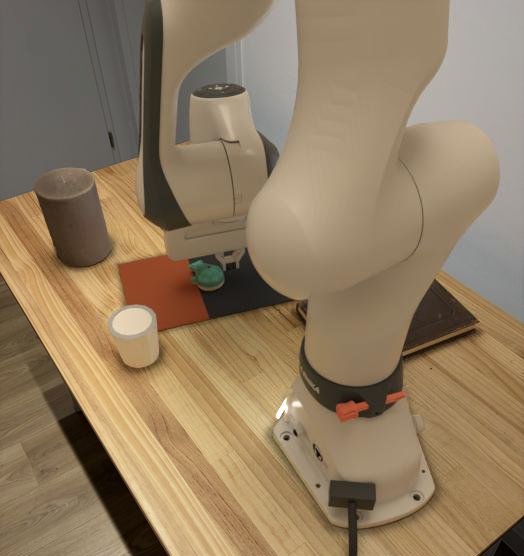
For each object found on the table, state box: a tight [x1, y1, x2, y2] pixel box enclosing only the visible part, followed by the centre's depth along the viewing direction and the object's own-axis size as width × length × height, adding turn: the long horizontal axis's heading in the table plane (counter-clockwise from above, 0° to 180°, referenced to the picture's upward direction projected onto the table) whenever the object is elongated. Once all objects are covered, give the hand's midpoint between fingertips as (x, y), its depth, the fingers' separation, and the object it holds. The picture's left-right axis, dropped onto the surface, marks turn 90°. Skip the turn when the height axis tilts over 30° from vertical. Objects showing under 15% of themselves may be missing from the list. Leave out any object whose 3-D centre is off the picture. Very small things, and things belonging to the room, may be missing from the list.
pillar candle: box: [33, 167, 112, 268], centre depth 94 cm, size 10×10×15 cm
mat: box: [117, 248, 295, 332], centre depth 94 cm, size 18×28×1 cm, turn 108°
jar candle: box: [107, 305, 160, 369], centre depth 80 cm, size 7×7×7 cm
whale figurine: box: [188, 260, 224, 291], centre depth 92 cm, size 6×7×4 cm
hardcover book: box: [295, 278, 480, 361], centre depth 86 cm, size 16×23×2 cm
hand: (229, 267), depth 93 cm, fingers closed
